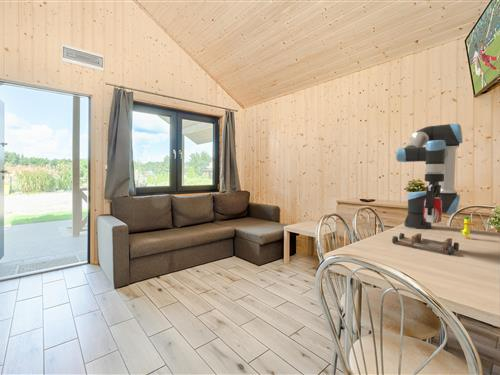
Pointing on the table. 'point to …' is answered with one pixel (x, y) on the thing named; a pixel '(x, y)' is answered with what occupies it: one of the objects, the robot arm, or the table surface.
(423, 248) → the chassis
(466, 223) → the toy figure
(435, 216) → the soda can
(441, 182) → the robot arm
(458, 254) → the table surface
